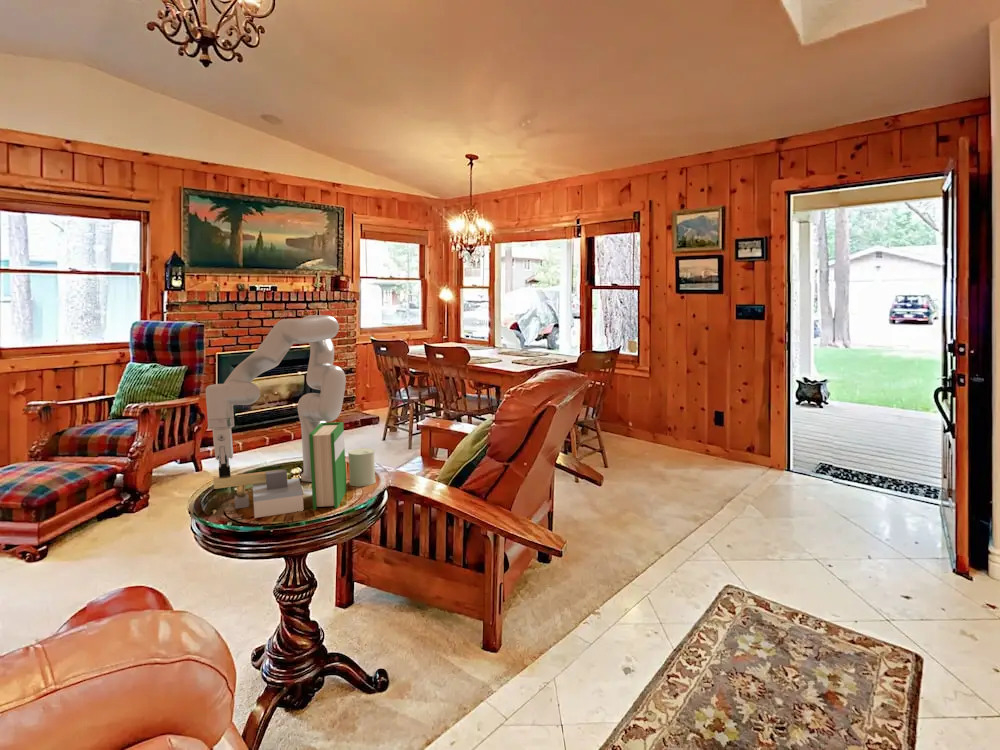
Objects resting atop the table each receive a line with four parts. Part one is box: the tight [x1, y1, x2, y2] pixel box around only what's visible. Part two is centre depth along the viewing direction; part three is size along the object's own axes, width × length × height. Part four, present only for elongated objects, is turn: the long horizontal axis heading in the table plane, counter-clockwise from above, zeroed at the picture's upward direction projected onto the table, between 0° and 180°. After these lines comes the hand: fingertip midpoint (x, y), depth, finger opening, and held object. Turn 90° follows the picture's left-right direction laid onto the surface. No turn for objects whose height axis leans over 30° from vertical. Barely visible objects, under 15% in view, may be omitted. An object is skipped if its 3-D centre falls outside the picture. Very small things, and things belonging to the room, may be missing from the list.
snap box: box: [233, 493, 305, 519], centre depth 177 cm, size 20×16×5 cm
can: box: [347, 447, 377, 487], centre depth 202 cm, size 9×9×12 cm
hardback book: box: [309, 421, 347, 511], centre depth 183 cm, size 18×7×24 cm, turn 6°
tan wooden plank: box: [213, 468, 283, 497], centre depth 180 cm, size 20×2×7 cm, turn 114°
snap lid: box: [252, 469, 304, 503], centre depth 177 cm, size 14×14×6 cm
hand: (225, 478), depth 182 cm, fingers closed
